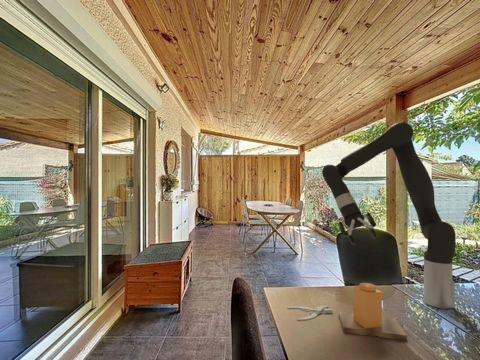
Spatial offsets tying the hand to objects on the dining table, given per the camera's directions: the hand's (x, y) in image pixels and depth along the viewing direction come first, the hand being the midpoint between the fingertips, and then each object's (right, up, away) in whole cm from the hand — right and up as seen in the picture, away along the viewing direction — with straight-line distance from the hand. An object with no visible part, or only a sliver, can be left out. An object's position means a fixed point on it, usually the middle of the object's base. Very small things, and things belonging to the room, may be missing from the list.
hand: (364, 241), depth 111 cm
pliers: (-25, -24, -12) cm, 37 cm away
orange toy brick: (-10, -22, -22) cm, 33 cm away
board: (-9, -23, -22) cm, 33 cm away
